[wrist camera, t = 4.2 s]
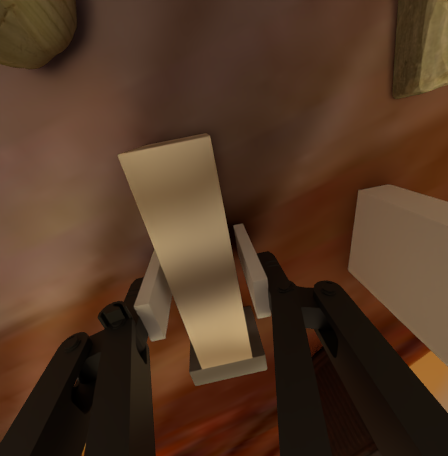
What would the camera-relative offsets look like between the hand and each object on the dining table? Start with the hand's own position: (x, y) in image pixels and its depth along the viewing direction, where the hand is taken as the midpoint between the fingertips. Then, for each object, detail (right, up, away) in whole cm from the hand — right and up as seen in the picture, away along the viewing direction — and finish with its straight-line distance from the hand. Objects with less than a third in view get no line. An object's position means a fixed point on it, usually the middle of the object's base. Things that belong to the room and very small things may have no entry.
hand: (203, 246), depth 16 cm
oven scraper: (0, 0, 0) cm, 0 cm away
